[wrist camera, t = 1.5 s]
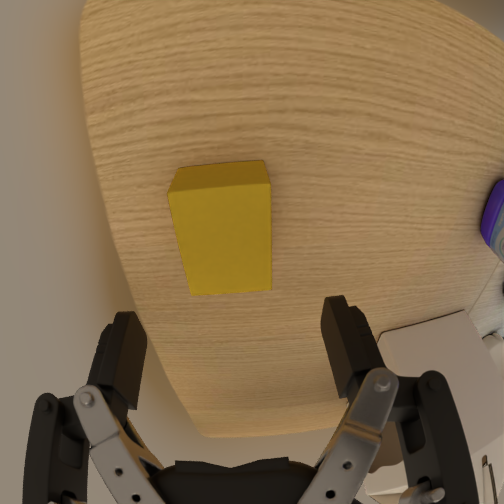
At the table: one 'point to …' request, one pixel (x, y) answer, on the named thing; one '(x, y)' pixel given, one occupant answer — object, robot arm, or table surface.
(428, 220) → the table surface
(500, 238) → the bottle
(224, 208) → the block
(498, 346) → the water bottle
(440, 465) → the robot arm
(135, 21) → the table surface
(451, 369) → the gable box
